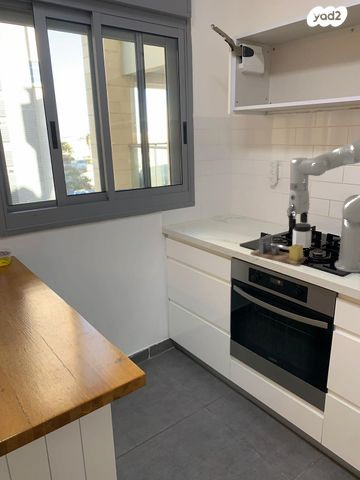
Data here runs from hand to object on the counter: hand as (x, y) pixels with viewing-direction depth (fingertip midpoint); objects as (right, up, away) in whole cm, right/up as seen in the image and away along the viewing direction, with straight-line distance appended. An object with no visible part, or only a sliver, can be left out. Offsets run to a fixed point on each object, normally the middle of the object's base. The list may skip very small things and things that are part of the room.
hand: (298, 224), depth 160 cm
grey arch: (-10, -14, +17) cm, 24 cm away
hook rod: (-3, -14, +9) cm, 17 cm away
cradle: (-7, -15, +13) cm, 21 cm away
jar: (+10, -11, +24) cm, 28 cm away
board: (-6, -15, +12) cm, 20 cm away
